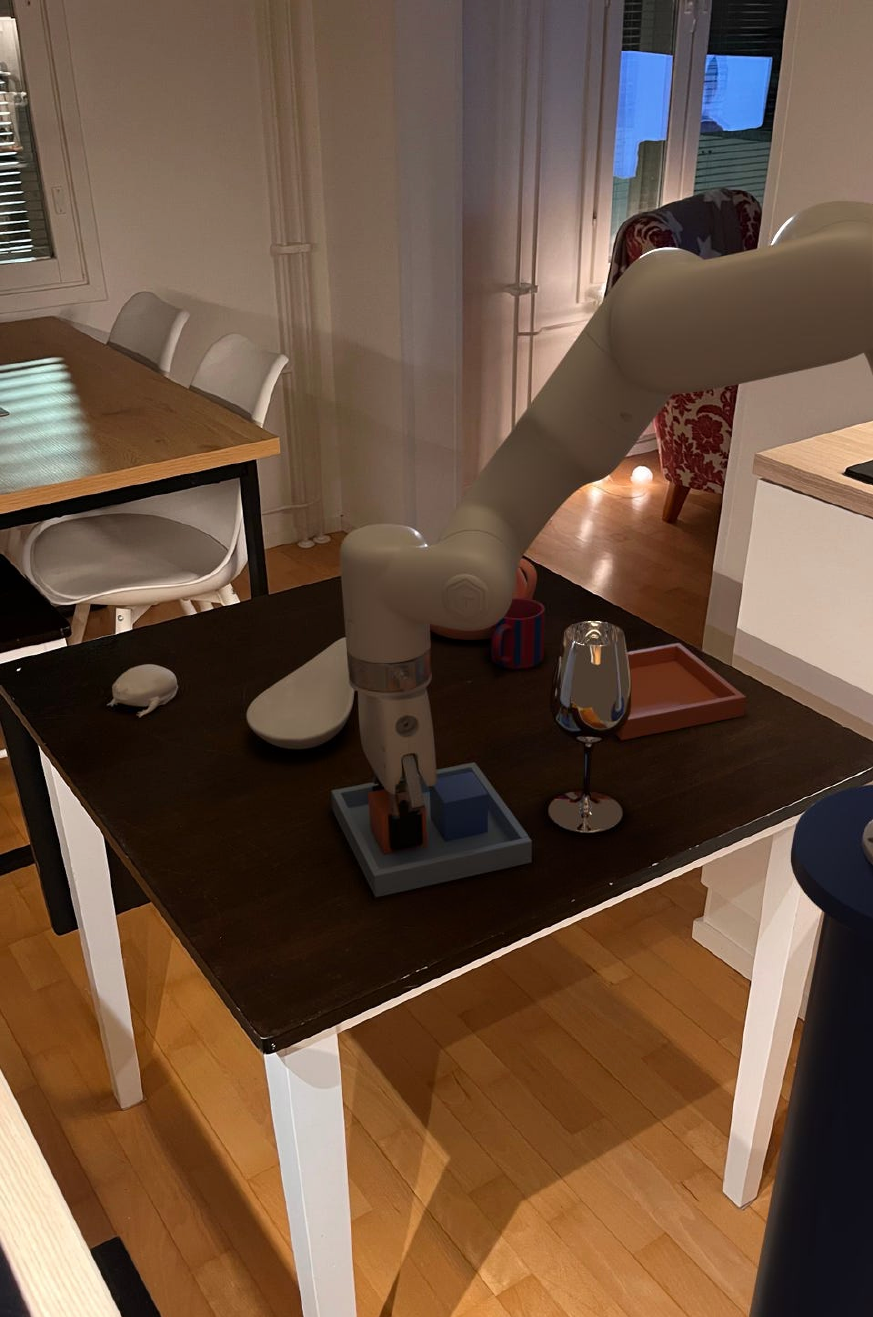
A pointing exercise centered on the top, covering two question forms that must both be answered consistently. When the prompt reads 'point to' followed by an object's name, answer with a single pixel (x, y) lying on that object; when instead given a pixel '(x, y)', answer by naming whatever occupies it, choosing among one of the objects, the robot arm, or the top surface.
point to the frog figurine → (145, 687)
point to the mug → (519, 635)
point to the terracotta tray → (676, 692)
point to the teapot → (520, 591)
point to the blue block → (459, 806)
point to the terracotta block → (379, 819)
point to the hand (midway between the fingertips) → (398, 830)
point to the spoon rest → (306, 702)
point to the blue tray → (431, 841)
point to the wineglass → (590, 714)
